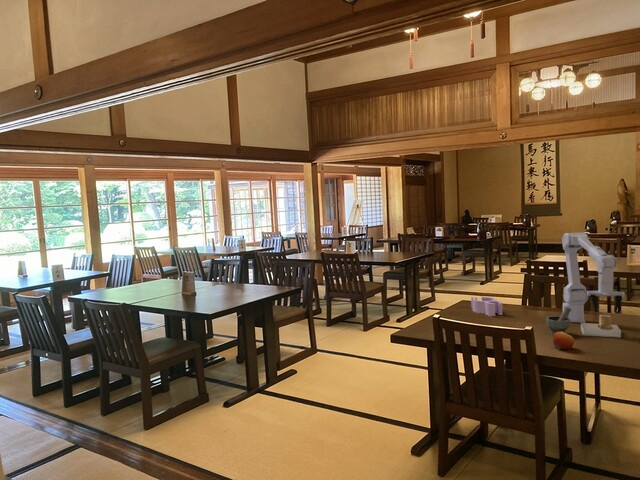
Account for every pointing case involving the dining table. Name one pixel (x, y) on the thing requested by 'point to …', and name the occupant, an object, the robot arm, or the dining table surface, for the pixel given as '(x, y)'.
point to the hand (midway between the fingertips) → (605, 311)
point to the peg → (605, 322)
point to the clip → (486, 306)
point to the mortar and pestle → (559, 322)
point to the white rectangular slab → (600, 330)
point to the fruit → (563, 340)
